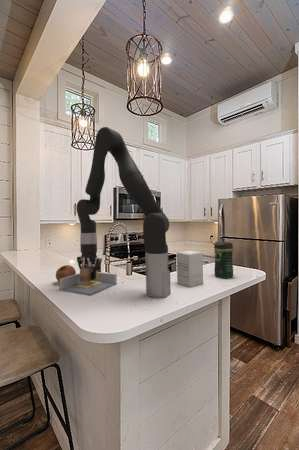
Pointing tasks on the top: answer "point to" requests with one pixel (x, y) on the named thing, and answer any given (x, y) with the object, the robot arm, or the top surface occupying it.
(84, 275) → the walnut brick
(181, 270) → the supplement box
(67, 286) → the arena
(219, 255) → the coffee jar
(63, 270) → the onion
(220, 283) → the top surface
